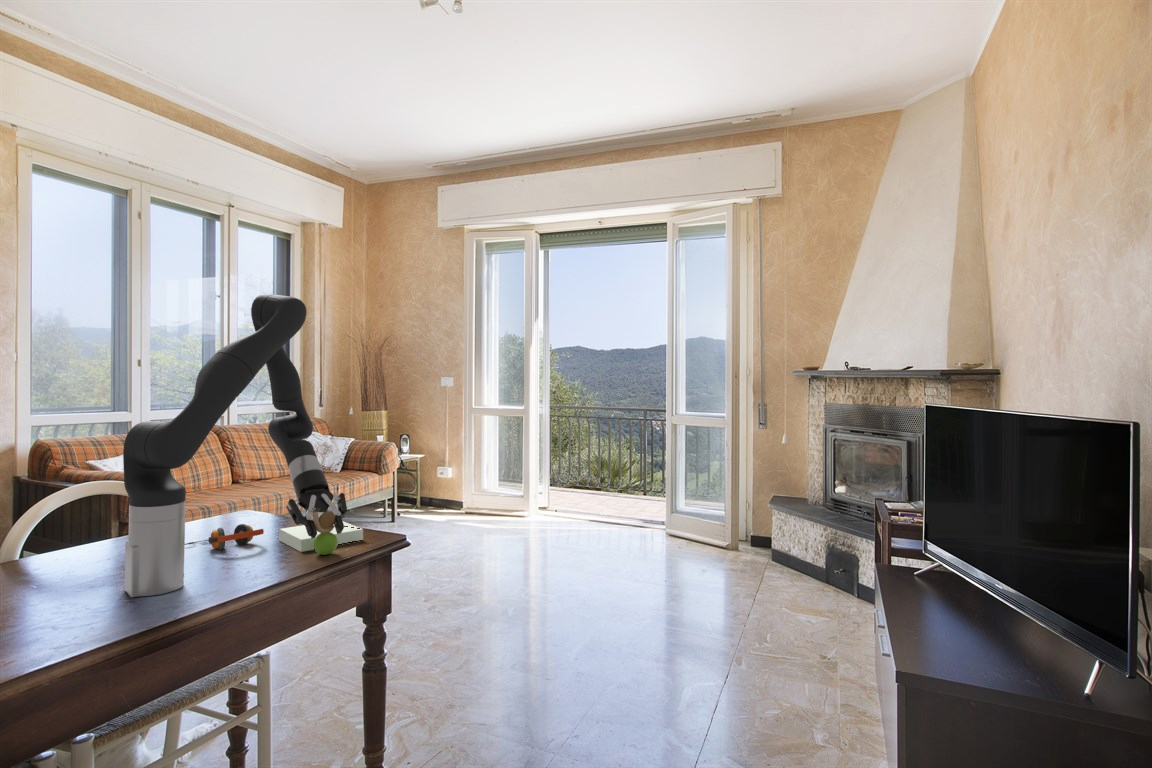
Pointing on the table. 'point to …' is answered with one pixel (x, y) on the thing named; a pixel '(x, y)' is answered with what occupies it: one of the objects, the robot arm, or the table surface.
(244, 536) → the headphones
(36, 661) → the table surface
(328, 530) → the snail figurine
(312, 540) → the sage board
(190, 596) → the table surface
